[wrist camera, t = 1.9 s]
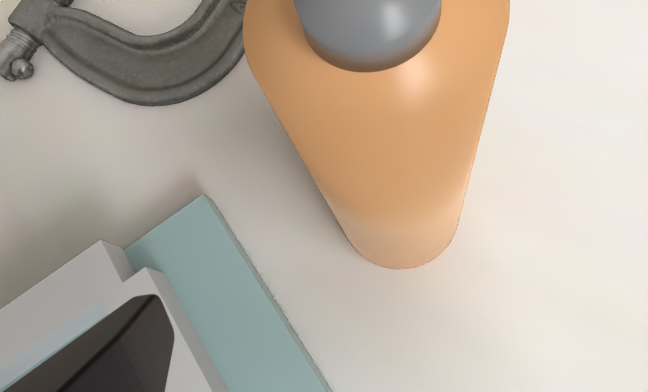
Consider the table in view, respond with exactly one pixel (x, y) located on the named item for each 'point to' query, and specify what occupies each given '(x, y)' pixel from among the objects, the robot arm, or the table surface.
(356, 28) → the jaw post
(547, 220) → the table surface
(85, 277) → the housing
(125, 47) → the c clamp
